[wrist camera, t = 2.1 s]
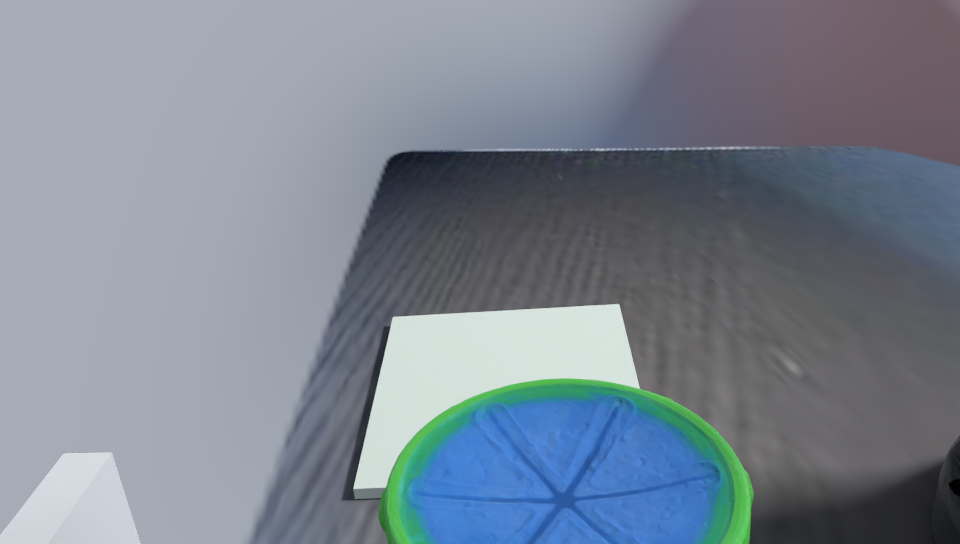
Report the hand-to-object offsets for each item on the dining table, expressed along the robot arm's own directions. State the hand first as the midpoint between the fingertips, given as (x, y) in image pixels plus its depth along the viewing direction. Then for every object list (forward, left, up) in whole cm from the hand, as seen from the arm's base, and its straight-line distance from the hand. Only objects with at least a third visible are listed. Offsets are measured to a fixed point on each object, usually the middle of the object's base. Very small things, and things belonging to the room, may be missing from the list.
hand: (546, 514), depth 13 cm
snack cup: (-5, -9, -18) cm, 20 cm away
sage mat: (-12, -27, -18) cm, 34 cm away
